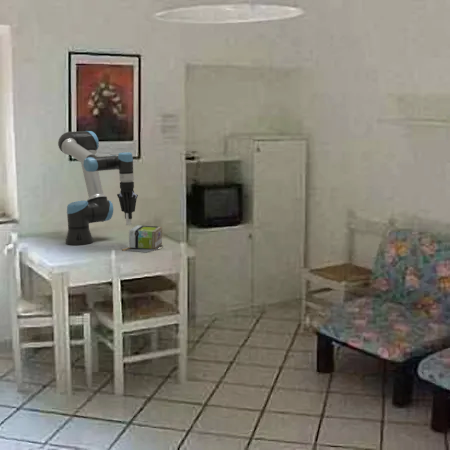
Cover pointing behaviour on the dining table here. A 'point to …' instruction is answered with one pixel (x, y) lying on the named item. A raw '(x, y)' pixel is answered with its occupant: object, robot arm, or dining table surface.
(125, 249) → the oak strip
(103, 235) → the dining table surface
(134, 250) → the mat
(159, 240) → the tea box
